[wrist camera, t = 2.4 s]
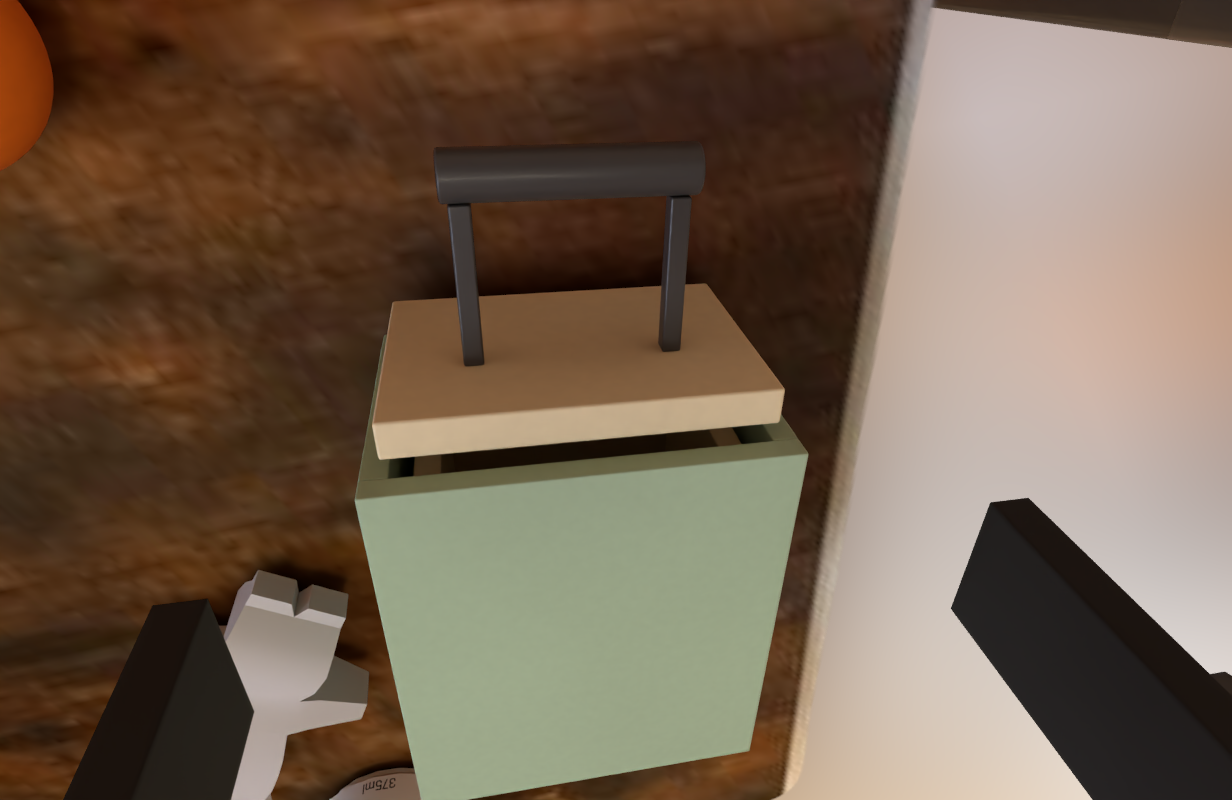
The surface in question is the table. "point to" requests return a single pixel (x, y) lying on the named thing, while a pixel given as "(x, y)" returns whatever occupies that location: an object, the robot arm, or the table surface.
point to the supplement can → (383, 786)
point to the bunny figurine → (288, 671)
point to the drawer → (566, 333)
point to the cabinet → (579, 607)
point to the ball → (22, 83)
